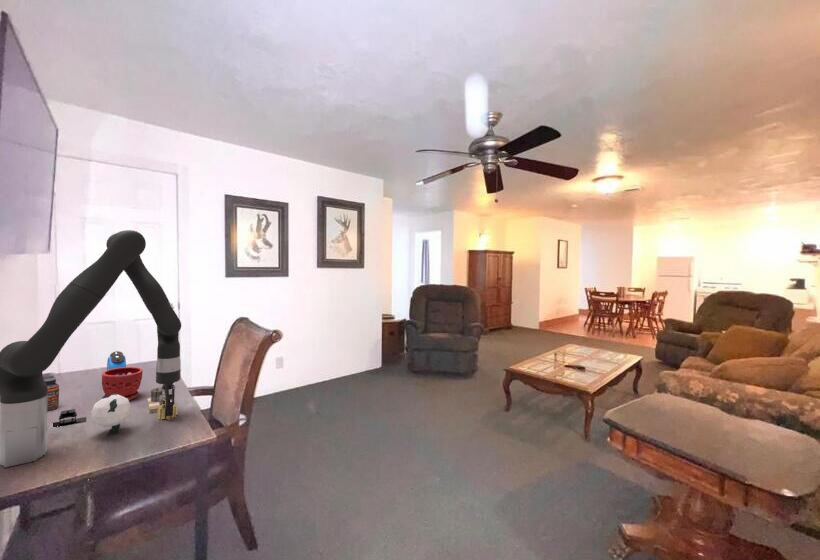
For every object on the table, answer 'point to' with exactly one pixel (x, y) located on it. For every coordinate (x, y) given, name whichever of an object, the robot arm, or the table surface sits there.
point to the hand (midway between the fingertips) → (167, 411)
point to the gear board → (153, 405)
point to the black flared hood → (68, 414)
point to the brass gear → (162, 410)
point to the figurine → (111, 412)
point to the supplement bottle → (52, 393)
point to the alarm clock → (116, 361)
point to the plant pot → (122, 382)
